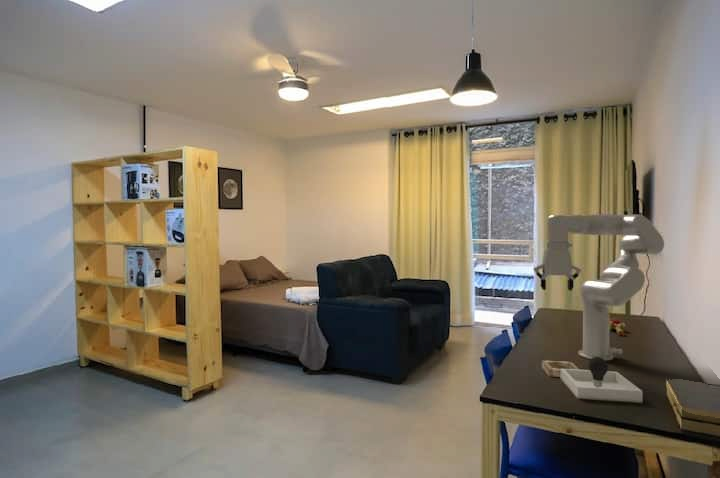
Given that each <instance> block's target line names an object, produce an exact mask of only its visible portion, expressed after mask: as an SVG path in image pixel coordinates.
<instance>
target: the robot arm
mask: <svg viewBox="0 0 720 478" xmlns="http://www.w3.org/2000/svg"><path fill="white" fill-rule="evenodd" d="M546 221H547V222H546V225H547V226H546V227H547V229H546V231H547V232H546V249H544V251H543V256H542V263H541V264H539V265H537V266H535V267H534V268H533V271H534V273H535V275H536V276H537V277H538V278H539V279H540V288H541V289H542V290H543V291H546V288H547V279H546V278H547V277H548V276H566V277H567V278H568V279H567V290H569V291H571V292H572V291H573V289H574V281H575V280H576V279H577V278H578V277H579V275H580V274H581V272H582V269H581V268H580V267H578V266H575V265H574V264H573V263H572V262H573V261H572V254H571V251H570V249H569V248H572V246H573V244H572V243H570V242H569V234H570V235H577V234H578V235H579V234H580V235H587V236H588V235H589V236H621V238H620V240H619V244H618V246H619V247H618V248H619V250H618V251H619V253H618V258H616V260H614V261H613V262H612V263H611V264H610V265H609V266H607V267H606V268H605V269H604V270H603V271H602V272H601V274H600V278H599V279H594V278H593V279H587V280H585V281H584V282H583V283H582V284H581V286H580V296H581V301H582V349H580V350H578V352H577V353H578V356H580V357H582V358H584V359H587V360H590V359H591V358H593V357H601V358H603V359H604V360H605V361H606V362H608V361H613V360H614V355H615V354H617V355H622V354H623V349H621V348H617V347H611V346H610V329H609V320H610V319H611V318H610V317H611V316H610V311H609V308H608V306H610V307H621V306H623V305H625V304H626V303H627V302H629V301H630V299H632V298H633V297H634V296H635V295H637V293H638V292H640V291H641V289H642V288H643V286H644V284H645V281H646V278H645V274H644V272H643V270H641V269H640V263H639V260H638V257H637V254H640V255H656V254H657V255H658V254H660V253H661V252H662V251H663V250H664V248H665V241H664V240H665V239H664V238H663V236H662V234H660V232H659V231H658V230H657V228H656V227H655V226H654V225H653V223H652V222H651V221H650V220H649V219H648V218H647V217H646V216H644V215H643V214H640V213H639V214H638V213H637V214H604V213H603V214H602V213H601V214H589V215H587V214H586V215H582V214H567V215H566V214H565V215H564V214H554V215H553V214H552V215H549V216H548V217H547V220H546ZM541 269H542V271H541V272H542V274H541V273H540V270H541ZM573 270H575V272H574V273H573ZM572 273H573V274H572Z"/></svg>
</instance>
